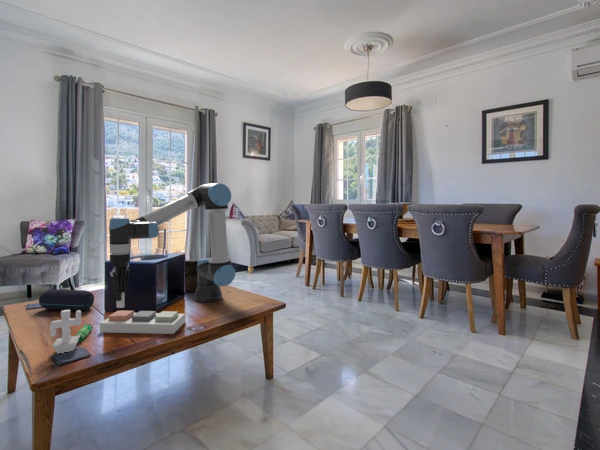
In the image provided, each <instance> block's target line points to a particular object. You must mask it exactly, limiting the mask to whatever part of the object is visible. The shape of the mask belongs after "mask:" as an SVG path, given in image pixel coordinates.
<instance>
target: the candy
mask: <svg viewBox="0 0 600 450" xmlns="http://www.w3.org/2000/svg"><path fill="white" fill-rule="evenodd" d="M93 329H94V327H93V326H92V324H91V323H84V325H83V327H82V328H80V330H78V332H77V334H75V335H73V336H79V335H80V337H79V340H78V342H77V343H82V342H83V341H84V339H85V338H86V337H87V335H89V333H90V332H91V331H92V330H93Z"/></svg>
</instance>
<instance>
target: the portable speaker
mask: <svg viewBox="0 0 600 450" xmlns="http://www.w3.org/2000/svg"><path fill="white" fill-rule="evenodd" d="M94 301H95V296H94V294H93V293H92V292H91V291H89V290H82V289H61V288H60V289H57V288H56V289H50V290H46V291H44V292H43V293H42V294H41V295H40V296H39V299H38V304H39V305H40V307H41V308H44V309H45V310H53V311H63V310H70V312H71V311H73V312H76V311H78V310H80V311H81V312H84V311H88V310H90V309H91V308H92V307H93V305H94V303H95V302H94Z"/></svg>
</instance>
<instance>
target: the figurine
mask: <svg viewBox="0 0 600 450" xmlns="http://www.w3.org/2000/svg"><path fill="white" fill-rule="evenodd" d="M81 324H82V311H80V310H78V311H75V318H74V317H73V318H71V311H70V310H60V319H59V320H52V321H51V322H50V324H49V335H50V336H51V337H55V336H56V334H57V329H61V333H62V334H61V337H59V338H56V339H55V341H54V342H53V344H52V346H51V347H52V349H54V351H55V352H56V354H58V355H60V354H59V353H62V354H65V353H64V352H69V351H73V350H74V351H75V349H76V346H77V343H79V342H78V340H79V337H80V335H79V336H74V335H73V336H72V333H71V328H72V327H76V326H80V325H81ZM74 351H73V352H74ZM69 353H70V352H69Z"/></svg>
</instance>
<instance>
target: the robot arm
mask: <svg viewBox="0 0 600 450" xmlns="http://www.w3.org/2000/svg"><path fill="white" fill-rule="evenodd" d="M231 200H232V192H231V189H230V188H229V187H228V186H227V185H226V184H225V183H222V182H221V183H220V182H212V183H204V184H201V185H199V186H197V187H196V188H193V189H192V190H190V191H188V192H186V194H185V195H183V196H181V197H180V198H178V199H176V200H173V201H172V202H171V201H170V202H169V203H167V204H165V205H162V206H161V207H158V208H156V209H154V210H152V211H150V212H148V213H146V214H143V215H142V216H140V217H137V218H136V219H130V218H129V217H112V218H110V219H109V226H108V231H109V253H110V254H109V263H110V264H112V266H111V267H112V270H111V271H109V272H108V274H107V275H108V276H109V280H110V285H111V291H112V293H113V294H115V296H116V297H115V298H116V304H115V305H116V308H117V309H118V308H119V309H123V308H125V307H126V305H125V292H126V293H127V292H128V288H129V279H130V272H131V269H132V267H131V266H128V263H129V262H130V261H131V256H130V250H131V249H130V247H131V246H130V244H131V243H130V240H135V239H136V240H137V239H139V240H141V239H155V238H158V237H159V234H160V227H159V226H160V225H163V224H164V223H166V222H168V221H170V220H173V219H174V218H176V217H178V216H180V215H182V214H184V213H186V212H188V211H190V210H192V209H199V208H201V207H204V211H206V212H207V213H208V225H209V228H208V229H209V246H210V257H208V258H206V257H205V258H200V259H197V260H198V264H197V273H198V286H197V289H196V293H194V301H196V302H198V303H213V302H217V301H220V300H222V298H223V292H222V290H221V287H227V286H229V285H231V284H232V283H233V281H234V280H235V278H236V269H235V268H234V266H232V260H231V257H229V256H228V253H229V252H228V237H227V219H226V211H227V210H229V204H230V202H231Z"/></svg>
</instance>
